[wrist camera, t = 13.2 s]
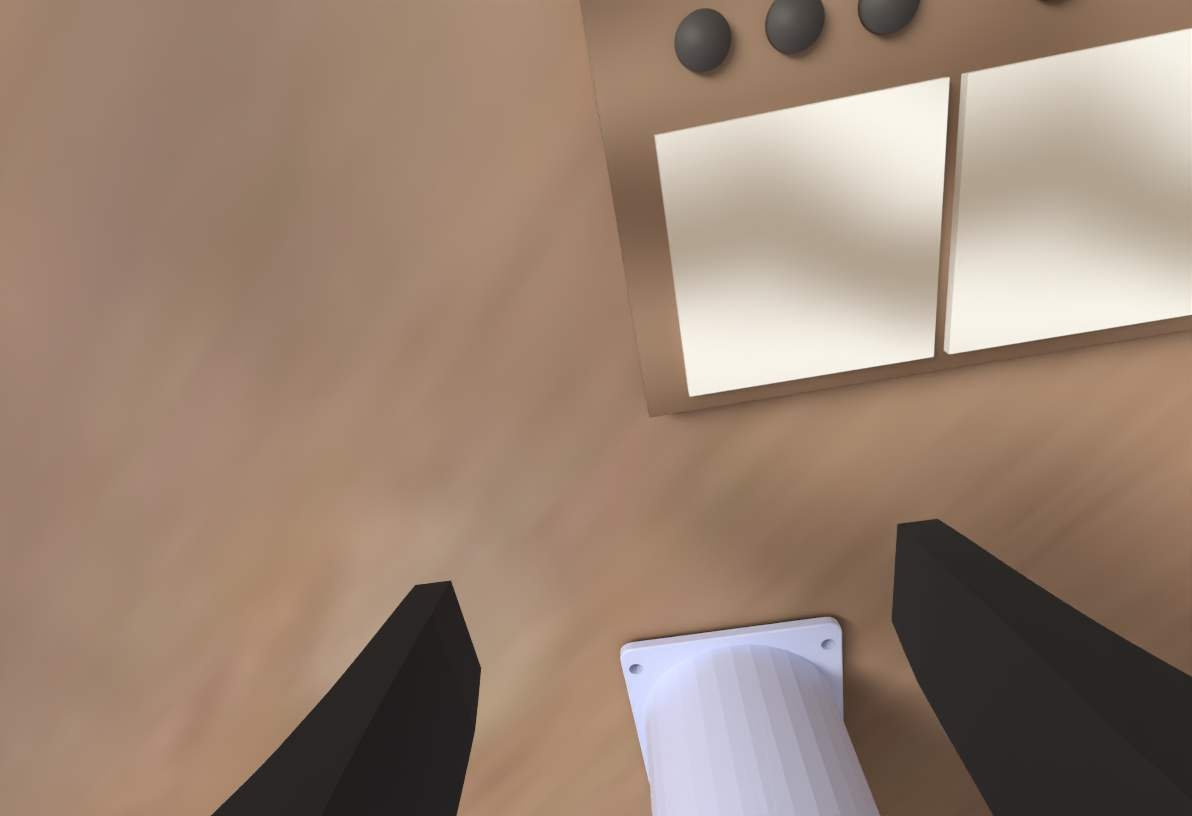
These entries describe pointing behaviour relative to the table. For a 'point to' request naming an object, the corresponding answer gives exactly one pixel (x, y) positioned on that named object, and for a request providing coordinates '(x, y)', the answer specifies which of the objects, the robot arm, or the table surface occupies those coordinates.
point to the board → (891, 184)
